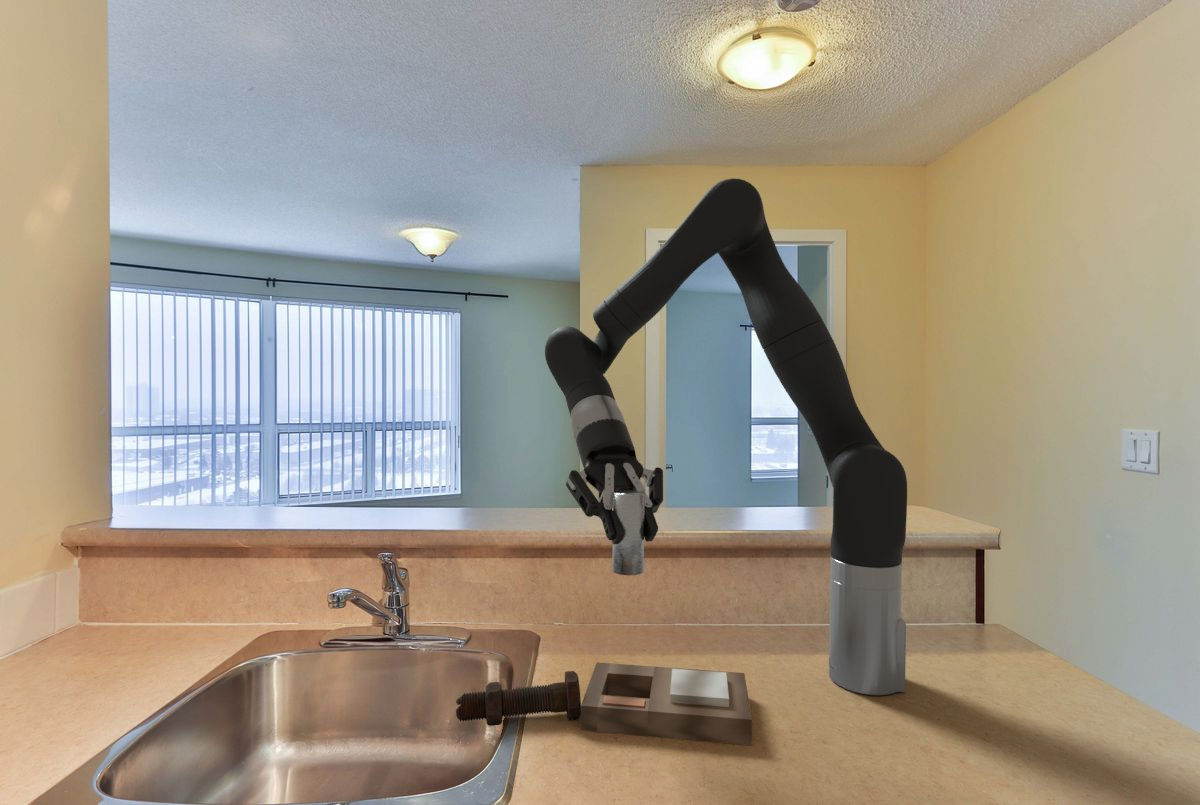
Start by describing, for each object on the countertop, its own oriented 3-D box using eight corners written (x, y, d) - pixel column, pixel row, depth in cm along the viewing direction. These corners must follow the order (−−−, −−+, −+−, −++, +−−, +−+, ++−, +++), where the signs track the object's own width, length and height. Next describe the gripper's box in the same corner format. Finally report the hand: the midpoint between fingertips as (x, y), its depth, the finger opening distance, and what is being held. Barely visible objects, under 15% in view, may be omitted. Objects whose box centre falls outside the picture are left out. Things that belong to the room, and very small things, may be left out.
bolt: (458, 734, 77) (578, 721, 80) (454, 734, 73) (582, 720, 75) (458, 683, 80) (575, 672, 82) (455, 680, 76) (578, 668, 78)
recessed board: (744, 695, 84) (744, 665, 84) (752, 745, 72) (752, 711, 72) (596, 683, 87) (596, 655, 87) (580, 730, 75) (580, 697, 75)
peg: (644, 567, 81) (646, 490, 81) (642, 576, 77) (643, 496, 77) (614, 565, 82) (615, 489, 82) (610, 574, 78) (611, 494, 78)
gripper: (559, 417, 84) (589, 526, 73) (655, 416, 89) (696, 519, 78) (547, 452, 89) (573, 560, 78) (638, 450, 94) (675, 550, 83)
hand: (635, 538), depth 78 cm, fingers closed on peg, 4 cm apart
